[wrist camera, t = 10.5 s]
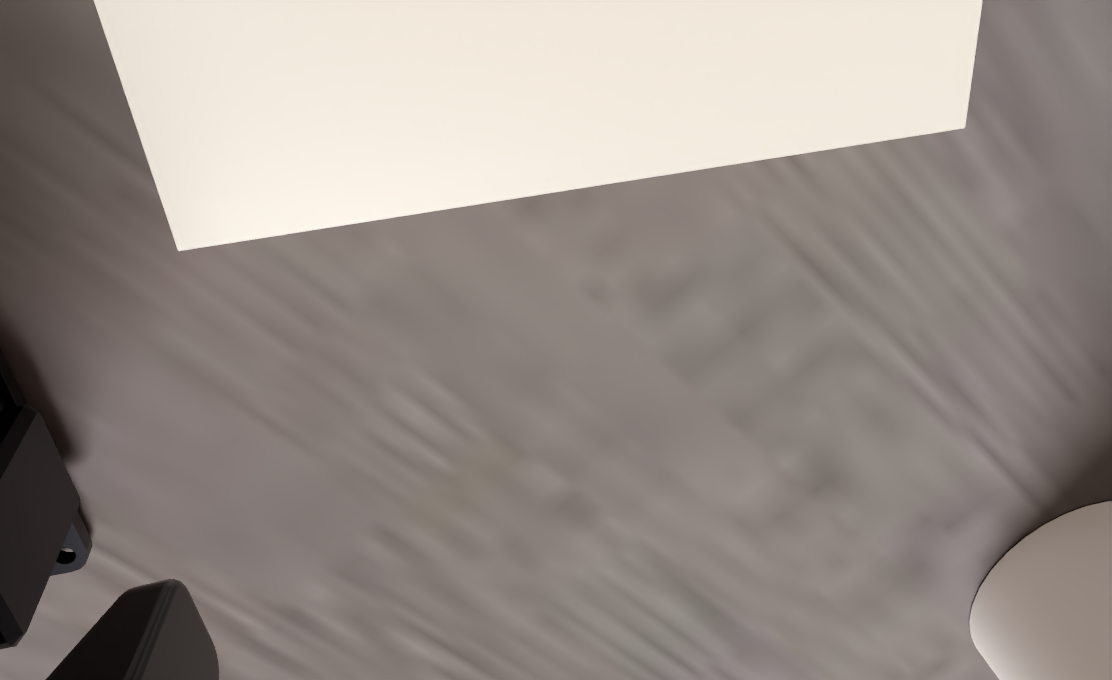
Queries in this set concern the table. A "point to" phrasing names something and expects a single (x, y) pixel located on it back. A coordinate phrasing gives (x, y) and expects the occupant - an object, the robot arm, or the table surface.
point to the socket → (507, 96)
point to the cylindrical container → (1051, 602)
